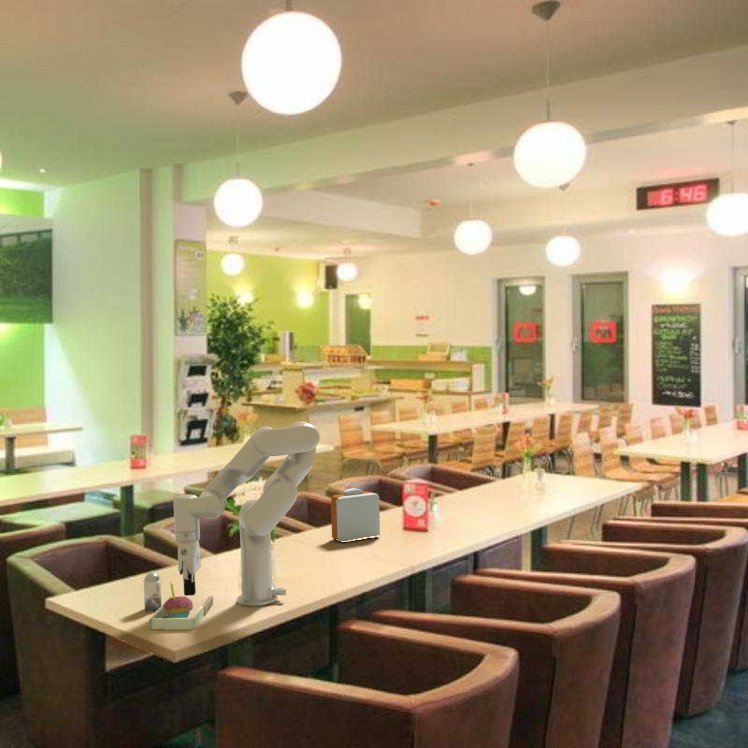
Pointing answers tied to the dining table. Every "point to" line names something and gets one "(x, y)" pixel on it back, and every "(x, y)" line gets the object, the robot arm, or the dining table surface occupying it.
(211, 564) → the dining table surface
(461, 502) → the dining table surface
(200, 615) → the tray
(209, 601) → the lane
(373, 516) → the grey suitcase
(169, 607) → the cupcake
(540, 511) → the dining table surface
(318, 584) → the dining table surface
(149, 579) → the glass dome
